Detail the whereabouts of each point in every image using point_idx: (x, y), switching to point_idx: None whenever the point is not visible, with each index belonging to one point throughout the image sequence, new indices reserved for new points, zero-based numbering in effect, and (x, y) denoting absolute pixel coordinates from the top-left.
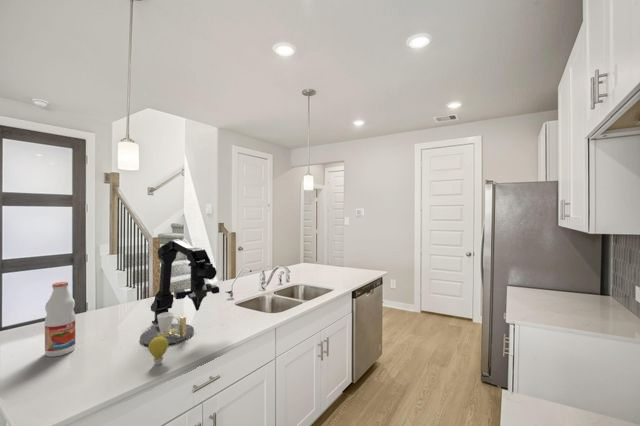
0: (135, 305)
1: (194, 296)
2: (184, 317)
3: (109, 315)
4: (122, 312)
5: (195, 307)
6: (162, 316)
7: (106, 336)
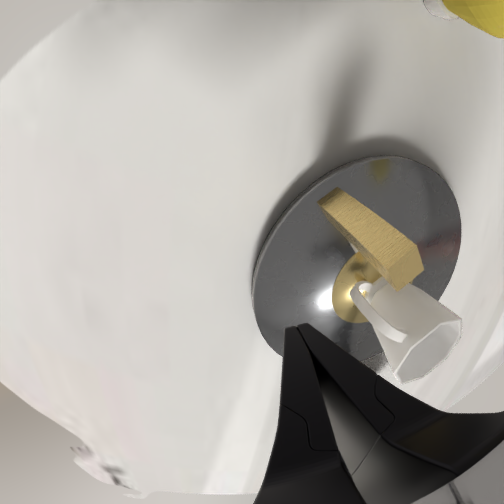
0: None
1: (478, 472)
2: (399, 259)
3: None
4: None
5: (336, 351)
6: (420, 359)
7: (471, 320)
